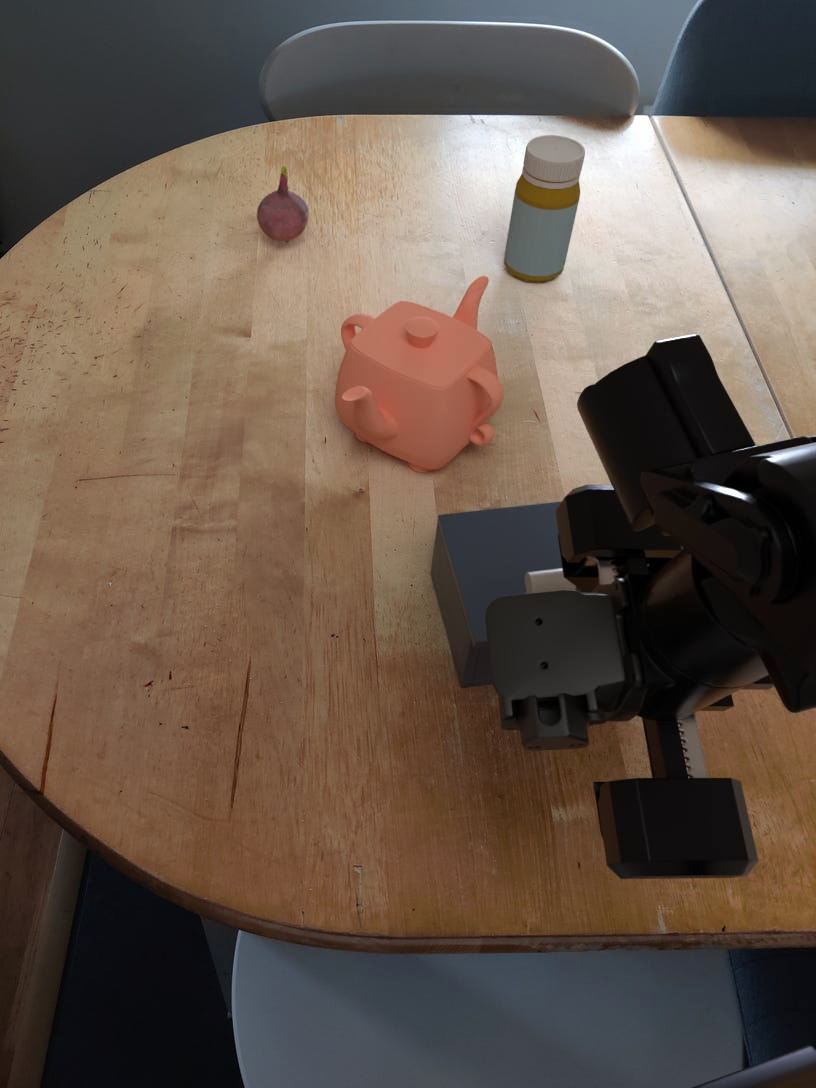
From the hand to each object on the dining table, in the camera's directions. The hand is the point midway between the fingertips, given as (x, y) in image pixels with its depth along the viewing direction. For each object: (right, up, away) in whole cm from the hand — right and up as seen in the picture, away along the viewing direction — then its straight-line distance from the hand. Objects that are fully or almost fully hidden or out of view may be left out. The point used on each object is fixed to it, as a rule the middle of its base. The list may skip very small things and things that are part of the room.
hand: (590, 705), depth 51 cm
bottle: (+9, +36, +54) cm, 65 cm away
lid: (+1, +6, +15) cm, 16 cm away
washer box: (+1, +1, +20) cm, 20 cm away
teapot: (-7, +16, +35) cm, 39 cm away
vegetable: (-21, +40, +57) cm, 73 cm away
